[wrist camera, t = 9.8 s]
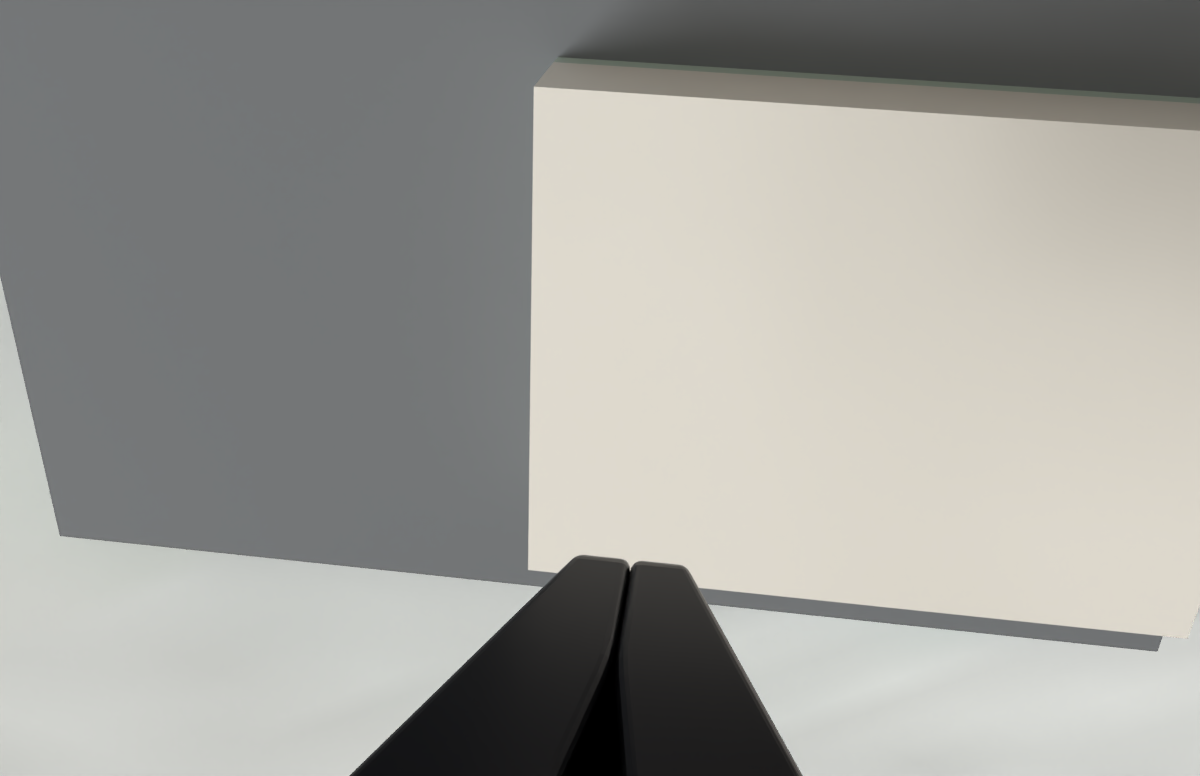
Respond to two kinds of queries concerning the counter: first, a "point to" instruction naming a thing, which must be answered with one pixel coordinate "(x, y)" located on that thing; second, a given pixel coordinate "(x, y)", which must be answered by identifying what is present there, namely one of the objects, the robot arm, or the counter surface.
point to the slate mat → (382, 246)
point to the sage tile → (870, 340)
